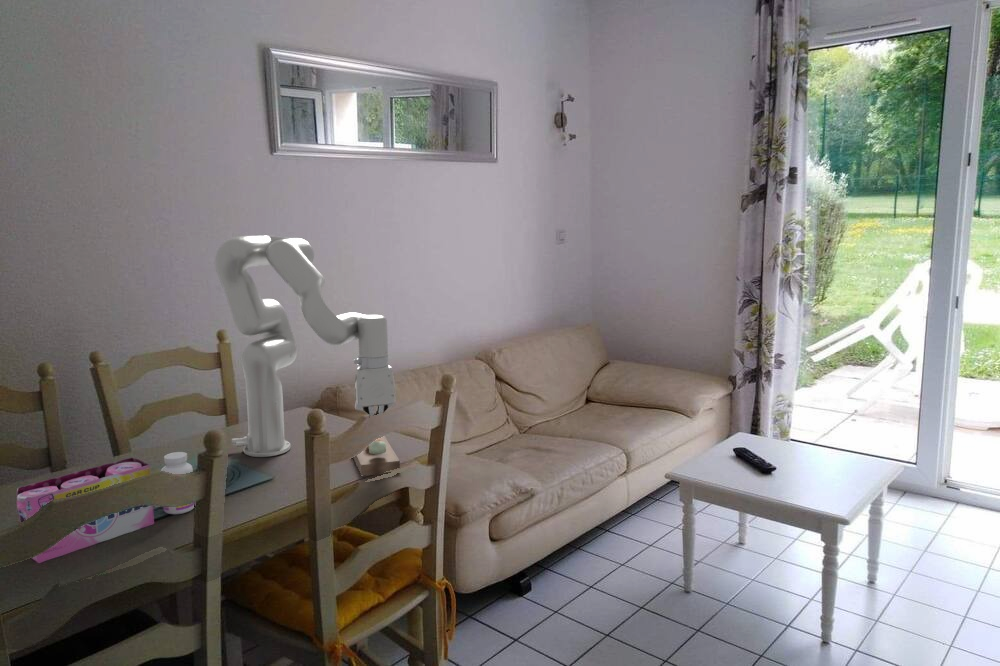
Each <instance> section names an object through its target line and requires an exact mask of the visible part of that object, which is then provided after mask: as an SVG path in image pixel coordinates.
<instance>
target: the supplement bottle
mask: <svg viewBox="0 0 1000 666" xmlns="http://www.w3.org/2000/svg"><path fill="white" fill-rule="evenodd" d="M187 461H188V453H187V452H184V451H175V452H170V453H167V454H165V455H164V456H163V462H164V464H165V465H164V466H163V467H162V468H161V470H160V472H161V471H165V472H169V473H172V474H186V473H190V472H193V473H194V467H193V465H191V464H190V463H189V462H187ZM162 509H163V512H165V513H166V514H168V515H181V514H185V513H188V512H191V511H192V510H193V509H195V507H194V503H191V504H187V505H183V506H178V507H163V506H162Z"/></svg>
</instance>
